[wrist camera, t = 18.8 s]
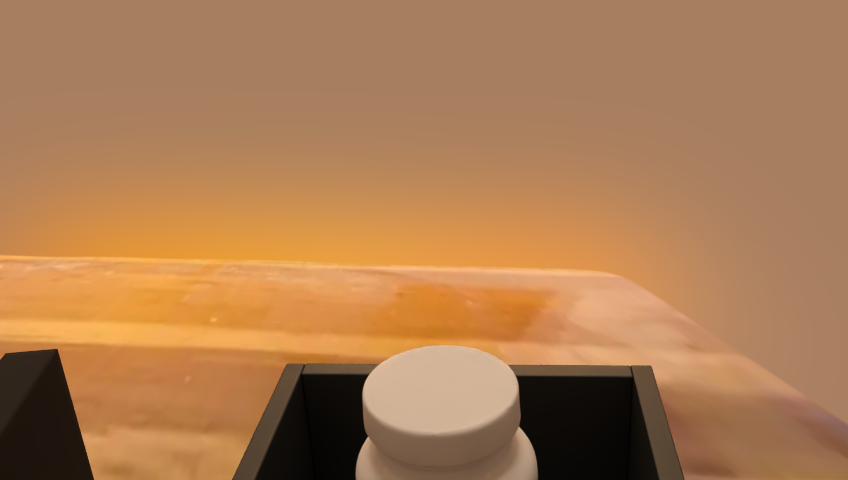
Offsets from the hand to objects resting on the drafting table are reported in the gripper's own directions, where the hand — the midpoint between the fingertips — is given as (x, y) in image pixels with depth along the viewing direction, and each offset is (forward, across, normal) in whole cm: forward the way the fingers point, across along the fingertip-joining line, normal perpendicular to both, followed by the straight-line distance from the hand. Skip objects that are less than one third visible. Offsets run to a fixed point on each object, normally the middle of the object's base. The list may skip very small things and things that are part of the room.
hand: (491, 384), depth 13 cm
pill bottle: (+9, 0, -16) cm, 19 cm away
